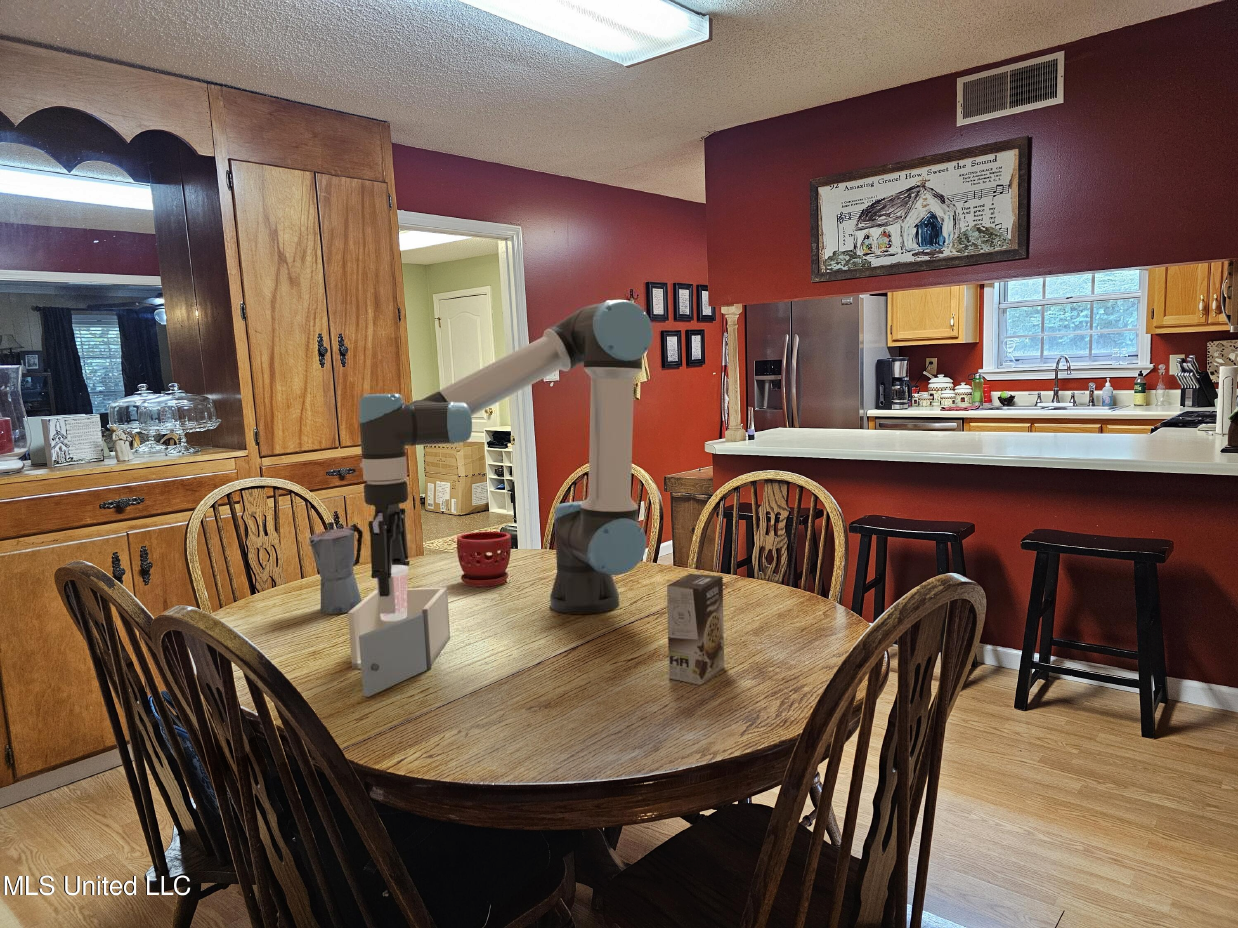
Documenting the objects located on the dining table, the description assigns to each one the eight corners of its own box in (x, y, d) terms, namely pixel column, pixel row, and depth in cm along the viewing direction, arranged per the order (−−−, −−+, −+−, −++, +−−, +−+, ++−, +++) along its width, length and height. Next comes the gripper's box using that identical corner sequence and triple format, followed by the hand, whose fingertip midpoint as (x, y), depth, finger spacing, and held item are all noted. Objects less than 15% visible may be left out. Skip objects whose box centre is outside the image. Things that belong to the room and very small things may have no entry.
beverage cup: (400, 609, 150) (396, 536, 148) (417, 616, 145) (413, 540, 144) (370, 617, 145) (365, 542, 144) (386, 624, 141) (381, 546, 139)
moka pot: (300, 616, 175) (292, 526, 173) (348, 596, 189) (342, 513, 187) (334, 620, 172) (327, 528, 169) (381, 600, 186) (375, 515, 183)
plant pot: (508, 588, 192) (506, 539, 190) (454, 590, 192) (451, 541, 191) (516, 574, 205) (514, 528, 203) (465, 576, 205) (462, 530, 203)
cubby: (452, 638, 157) (449, 584, 156) (430, 669, 141) (426, 610, 140) (379, 640, 158) (375, 586, 156) (349, 671, 141) (344, 612, 140)
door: (421, 668, 141) (417, 613, 140) (429, 670, 140) (426, 614, 139) (362, 695, 130) (357, 635, 129) (371, 697, 129) (366, 637, 128)
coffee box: (702, 686, 130) (700, 588, 128) (667, 679, 133) (664, 584, 131) (726, 667, 137) (724, 575, 135) (692, 661, 141) (690, 571, 139)
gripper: (381, 474, 152) (389, 592, 155) (344, 489, 133) (354, 624, 136) (421, 473, 152) (428, 592, 155) (389, 488, 133) (398, 623, 136)
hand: (393, 606), depth 145 cm, fingers closed on beverage cup, 6 cm apart
